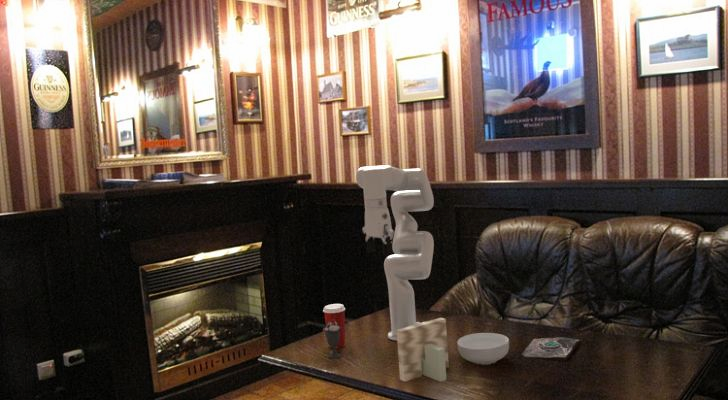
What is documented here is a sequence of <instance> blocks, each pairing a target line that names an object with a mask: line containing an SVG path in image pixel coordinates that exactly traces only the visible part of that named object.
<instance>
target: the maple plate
mask: <svg viewBox="0 0 728 400" xmlns="http://www.w3.org/2000/svg"><path fill="white" fill-rule="evenodd" d="M422 322H423V323H422ZM422 322H419V323H420V324H416V325H412V326H409V327H405V328H402V329H398V330H396V331H397V341H396V342H397V343H396V344H397V356H398V368H399V369H398V370H399V380H400V381H402V382H408V381H411V380H414V379H417V378H420V377H422V376H423V374H422V369H421V360H424V359H425V348H424V345H427V344H433V345H436V346H439V347H442V348H444V352H445V366H446V367H447V368H449V367H450V365H449V364H450V363H449V348H448V336H447V320H446V318H443V317H438V318H435V319H430V320H427V321H422Z"/></svg>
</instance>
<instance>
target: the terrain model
mask: <svg viewBox="0 0 728 400" xmlns="http://www.w3.org/2000/svg"><path fill="white" fill-rule="evenodd" d="M580 343H581V339H578V338H577V339H576V338H570V337H561V336H558V337H557V336H552V337H541V338H540V337H539V338H534V339H532V340H531V342H530V343H529V345H528V346H527V347H526V348H525V349H524V351H523V352H522V353H521V355H522V356H523V357H524V358H530V359H531V358H532V359H542V360H553V361H559V362H560V361H561V362H567V360H568V359H569V358H570V357H571V355H572V354H573V352H574V350H576V349H577V347H578V346H579V344H580Z"/></svg>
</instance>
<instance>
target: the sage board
mask: <svg viewBox="0 0 728 400" xmlns="http://www.w3.org/2000/svg"><path fill="white" fill-rule="evenodd" d="M424 348H425V359H424V360H421V369H422V376H426V377H428V378H430V379H433V380H436V381H438V382H444V381H447V368H446V366H445V352H444V348H442V347H439V346H436V345H433V344H427V345H424Z"/></svg>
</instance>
